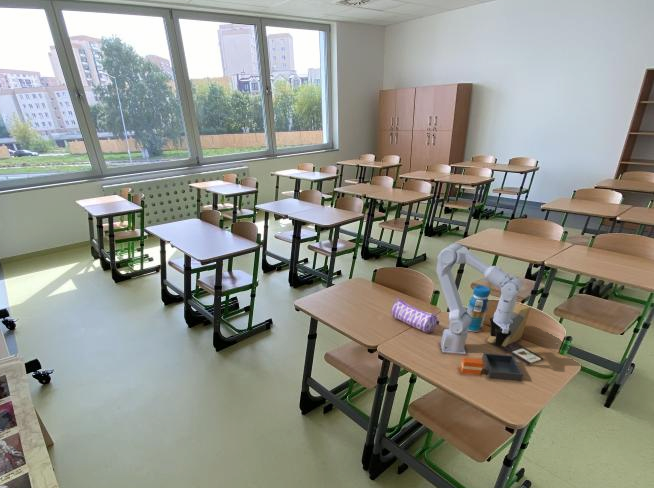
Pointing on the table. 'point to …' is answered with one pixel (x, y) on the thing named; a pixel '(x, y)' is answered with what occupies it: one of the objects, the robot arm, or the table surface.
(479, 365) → the snack box
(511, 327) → the sandwich container
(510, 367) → the tray
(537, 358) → the chocolate bar
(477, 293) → the beverage bottle
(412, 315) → the pencil case
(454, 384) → the table surface
